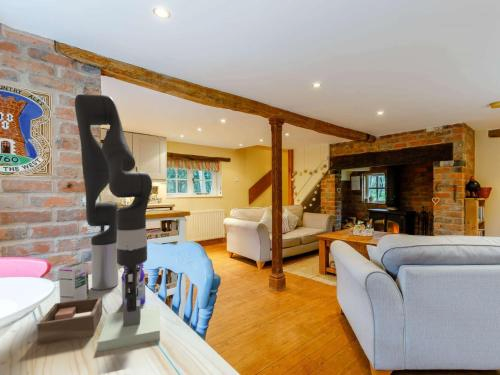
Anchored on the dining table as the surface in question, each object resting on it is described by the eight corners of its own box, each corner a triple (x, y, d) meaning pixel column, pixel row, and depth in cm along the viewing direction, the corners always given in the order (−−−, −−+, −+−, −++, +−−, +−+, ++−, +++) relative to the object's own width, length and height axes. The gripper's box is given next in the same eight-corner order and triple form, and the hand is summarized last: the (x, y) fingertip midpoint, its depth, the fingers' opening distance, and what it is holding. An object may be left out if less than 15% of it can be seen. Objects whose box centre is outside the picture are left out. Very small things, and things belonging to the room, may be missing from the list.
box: (55, 323, 76) (55, 303, 76) (102, 316, 80) (102, 297, 80) (38, 348, 65) (37, 324, 64) (93, 338, 69) (93, 315, 69)
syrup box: (74, 313, 82) (74, 267, 82) (59, 311, 83) (58, 266, 83) (89, 305, 87) (88, 262, 87) (74, 303, 89) (73, 261, 88)
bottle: (122, 310, 83) (121, 256, 83) (121, 303, 88) (120, 252, 88) (146, 305, 87) (145, 253, 86) (144, 299, 92) (143, 250, 91)
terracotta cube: (60, 322, 75) (59, 308, 75) (76, 320, 76) (76, 306, 76) (55, 330, 71) (54, 315, 71) (72, 327, 73) (71, 313, 72)
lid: (108, 324, 75) (107, 297, 75) (159, 315, 80) (159, 290, 80) (97, 354, 62) (97, 321, 62) (159, 342, 67) (159, 311, 67)
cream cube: (75, 328, 72) (75, 314, 72) (91, 325, 73) (91, 311, 73) (70, 336, 68) (70, 321, 68) (88, 333, 70) (88, 318, 69)
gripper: (120, 240, 76) (120, 295, 76) (112, 253, 63) (113, 319, 63) (147, 238, 79) (148, 291, 79) (146, 250, 65) (147, 313, 66)
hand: (133, 303), depth 71 cm, fingers open, 8 cm apart
